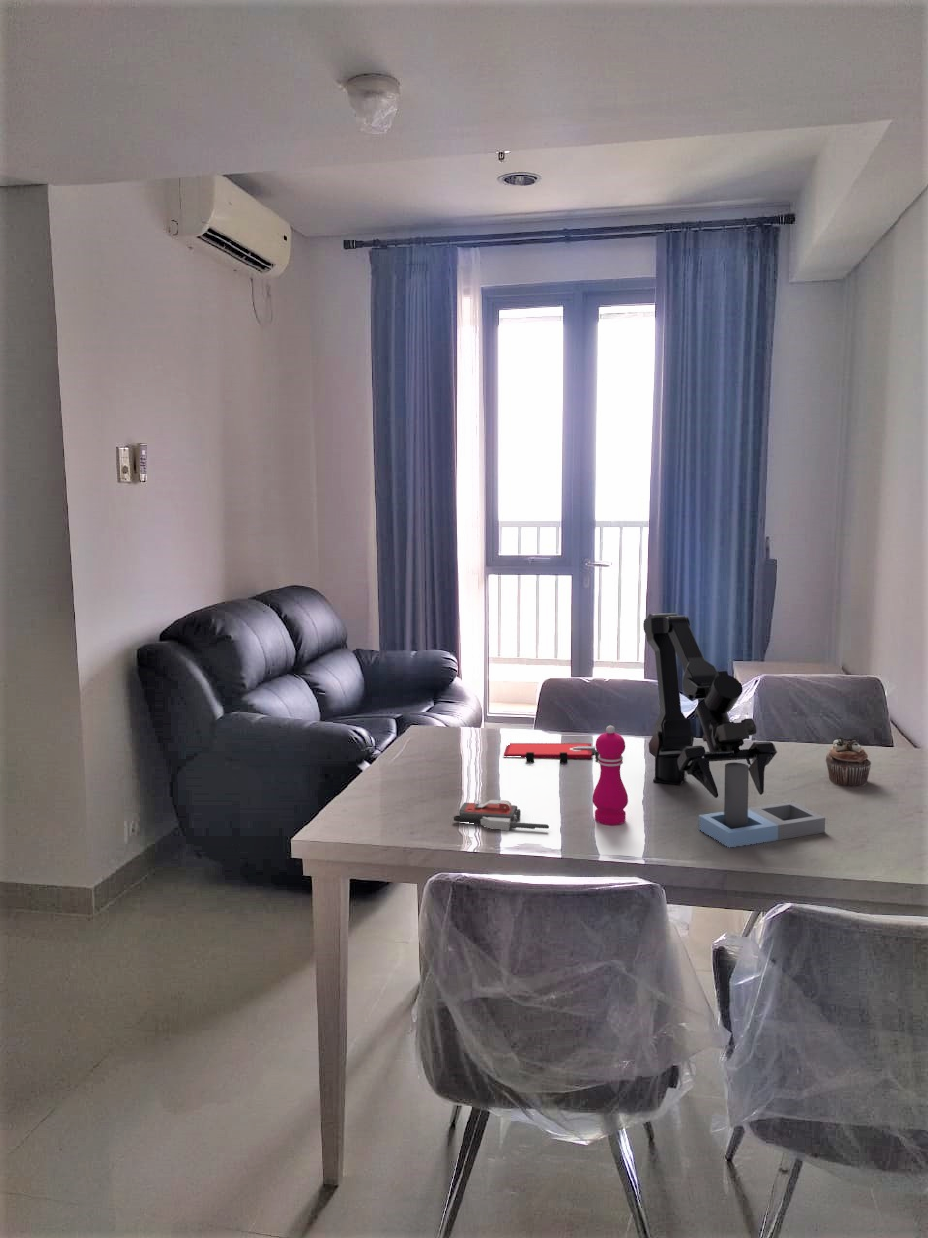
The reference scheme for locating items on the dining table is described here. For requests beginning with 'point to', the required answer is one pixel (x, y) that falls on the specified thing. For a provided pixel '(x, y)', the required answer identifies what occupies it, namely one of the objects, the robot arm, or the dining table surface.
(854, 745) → the cupcake
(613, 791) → the pepper mill
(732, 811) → the plug
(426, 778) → the dining table surface
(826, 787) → the dining table surface
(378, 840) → the dining table surface
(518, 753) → the red board with handle
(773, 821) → the two-hole peg board
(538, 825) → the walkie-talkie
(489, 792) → the dining table surface
